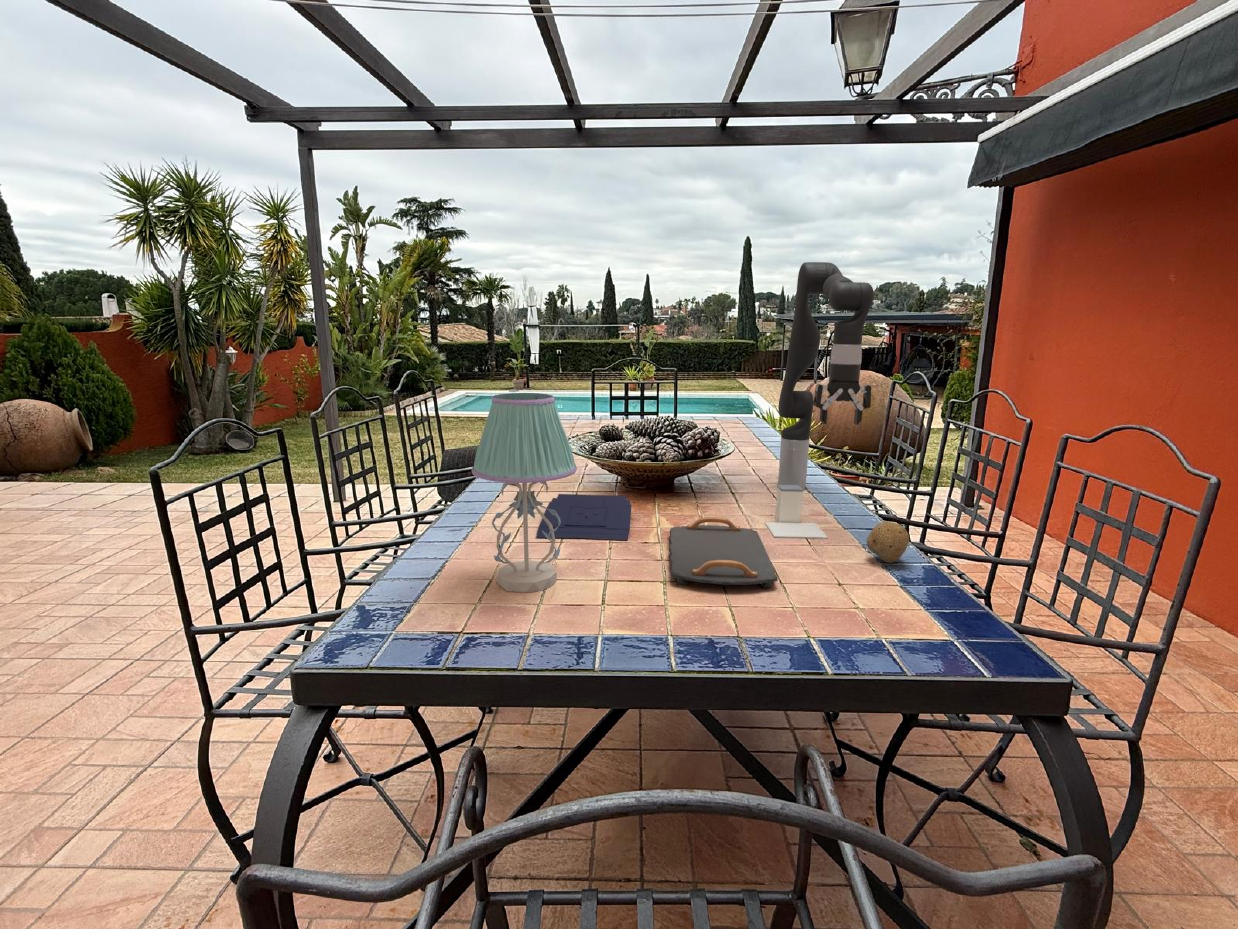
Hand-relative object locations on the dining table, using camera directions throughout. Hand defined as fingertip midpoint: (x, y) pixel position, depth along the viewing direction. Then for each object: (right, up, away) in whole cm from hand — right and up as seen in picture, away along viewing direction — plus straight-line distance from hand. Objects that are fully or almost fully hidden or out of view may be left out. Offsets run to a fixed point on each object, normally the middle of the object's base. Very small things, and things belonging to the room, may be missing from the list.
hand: (840, 423), depth 170 cm
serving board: (-35, -34, -17) cm, 52 cm away
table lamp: (-78, -36, -31) cm, 92 cm away
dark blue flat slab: (-67, -27, +10) cm, 73 cm away
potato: (+5, -34, -17) cm, 38 cm away
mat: (-11, -29, +5) cm, 31 cm away
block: (-10, -27, +13) cm, 32 cm away
